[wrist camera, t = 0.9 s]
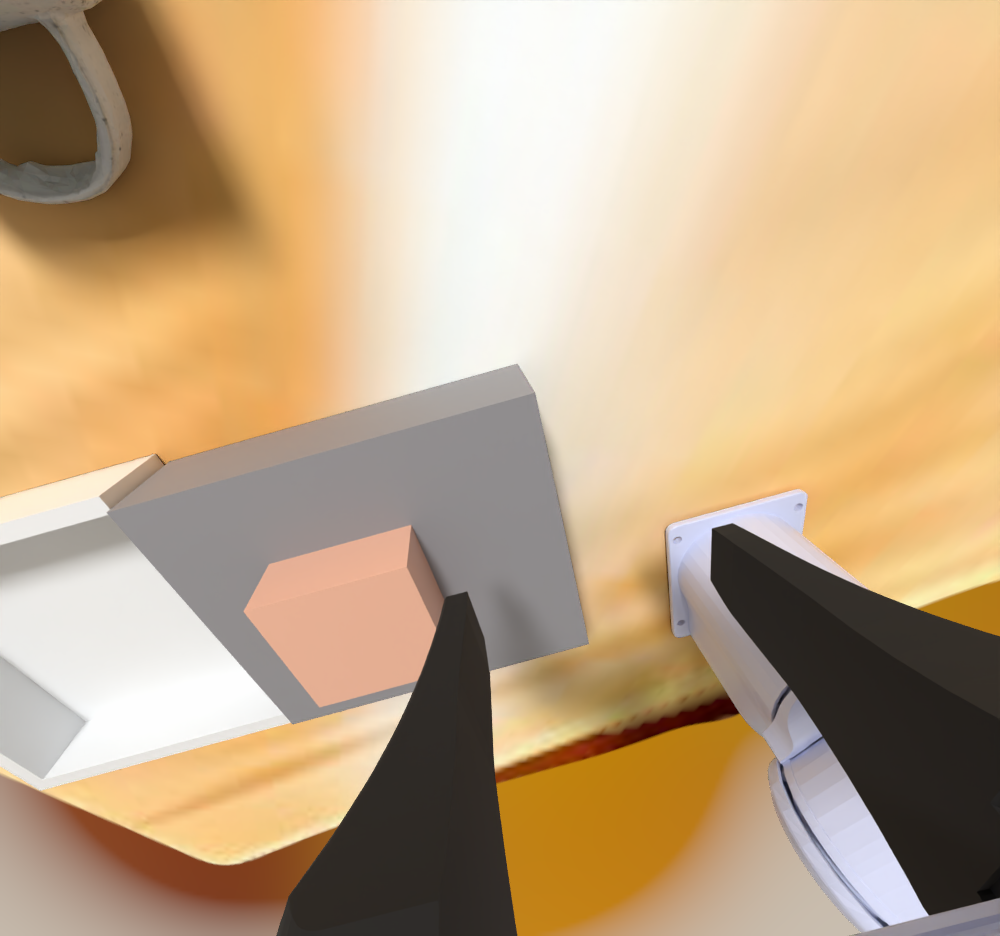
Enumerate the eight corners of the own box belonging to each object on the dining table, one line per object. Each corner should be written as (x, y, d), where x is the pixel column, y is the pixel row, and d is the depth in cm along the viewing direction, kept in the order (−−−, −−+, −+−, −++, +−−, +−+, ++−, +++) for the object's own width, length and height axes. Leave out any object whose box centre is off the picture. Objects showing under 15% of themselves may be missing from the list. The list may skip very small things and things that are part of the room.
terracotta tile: (454, 623, 20) (456, 670, 18) (332, 656, 20) (319, 707, 18) (411, 525, 17) (406, 566, 15) (268, 564, 17) (243, 611, 15)
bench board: (568, 588, 25) (589, 643, 22) (313, 657, 25) (292, 724, 22) (517, 363, 18) (535, 392, 15) (169, 461, 19) (106, 512, 15)
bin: (312, 664, 26) (294, 721, 23) (87, 725, 26) (40, 790, 23) (155, 453, 18) (98, 496, 15) (-156, 541, 19) (-273, 599, 16)
